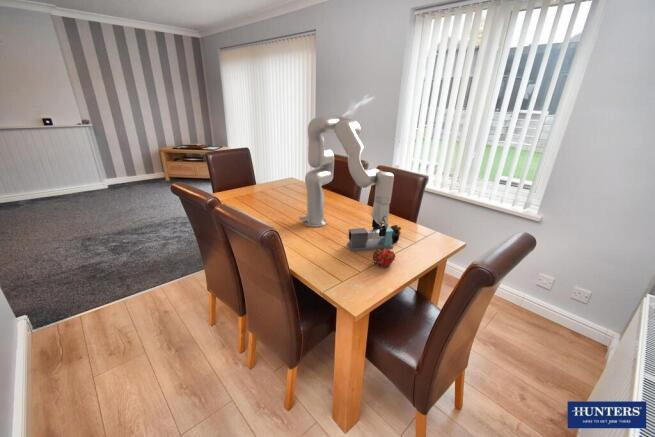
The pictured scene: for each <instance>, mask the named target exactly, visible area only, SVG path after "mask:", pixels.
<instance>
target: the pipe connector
mask: <svg viewBox="0 0 655 437" xmlns="http://www.w3.org/2000/svg"><path fill="white" fill-rule="evenodd" d="M389 227H390V228H391V229H392V230H393V231H394V232H393V233H392V244H396V243H398V242H399V240H400V236H399V235H401V230H402V227H401V226H398V225H397V224H393V225H391V226H389ZM380 228H381V227H380V224H378V227H372V230H377V229H380Z"/></svg>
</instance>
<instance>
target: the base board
mask: <svg viewBox="0 0 655 437" xmlns="http://www.w3.org/2000/svg"><path fill="white" fill-rule="evenodd" d="M346 243H347V246H348V248H349V250H350V251H351V253H355V252H356V253H357V252H366V251H376V250H377V249H379V250H381V248H384V250H385V249H389V250H391V249H392V250H393V247H394V245H392V246H384V245H383V243H382V242H381V241H380V239H369V240H367V242H366V247H362V248H352V247H351V246H350V244H349V241H347V242H346Z"/></svg>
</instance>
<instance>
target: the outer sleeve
mask: <svg viewBox="0 0 655 437" xmlns="http://www.w3.org/2000/svg"><path fill="white" fill-rule="evenodd" d="M348 240H349V241H348V242H349V244H350V246H351V247H352V248H362V247H366V242H367V240H368V232H367V229H366V228H365V227H358V228H349V229H348Z"/></svg>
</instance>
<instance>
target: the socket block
mask: <svg viewBox="0 0 655 437" xmlns="http://www.w3.org/2000/svg"><path fill="white" fill-rule="evenodd" d="M390 227H391V226H390V225H388V227H387V229H386V236H385V238H382V239H380V241H381V242H382V243H383V245H384V246H393V243H392V233H393V232H394V231H393V230H392V229H391V228H390Z"/></svg>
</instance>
